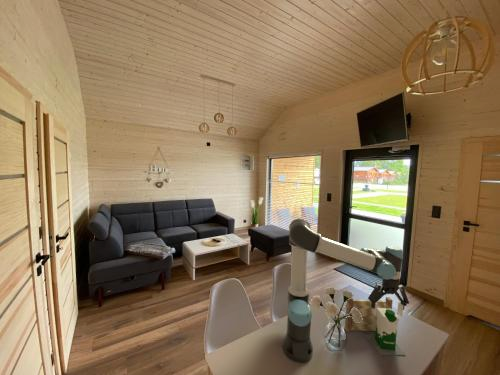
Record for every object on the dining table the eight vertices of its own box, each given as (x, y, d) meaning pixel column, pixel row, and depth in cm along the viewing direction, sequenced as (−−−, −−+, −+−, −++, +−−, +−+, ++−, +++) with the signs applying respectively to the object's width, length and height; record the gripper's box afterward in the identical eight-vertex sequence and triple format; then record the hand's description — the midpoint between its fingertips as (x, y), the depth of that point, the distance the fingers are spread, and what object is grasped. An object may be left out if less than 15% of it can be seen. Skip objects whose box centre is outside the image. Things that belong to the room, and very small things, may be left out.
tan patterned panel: (347, 331, 124) (349, 298, 122) (344, 326, 127) (346, 295, 125) (389, 332, 123) (392, 300, 122) (385, 328, 127) (388, 296, 125)
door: (352, 332, 123) (355, 302, 121) (350, 328, 126) (352, 299, 124) (384, 333, 123) (387, 303, 121) (381, 329, 126) (383, 300, 124)
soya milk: (380, 350, 111) (383, 314, 109) (372, 336, 120) (375, 302, 118) (398, 352, 110) (402, 315, 108) (388, 338, 119) (391, 304, 117)
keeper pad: (379, 354, 109) (379, 354, 109) (366, 334, 122) (366, 334, 122) (405, 355, 109) (405, 354, 109) (389, 335, 122) (389, 334, 121)
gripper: (371, 278, 108) (367, 318, 110) (420, 281, 108) (415, 320, 110) (363, 271, 115) (359, 308, 117) (409, 274, 115) (405, 310, 117)
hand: (386, 314), depth 114 cm, fingers open, 13 cm apart
